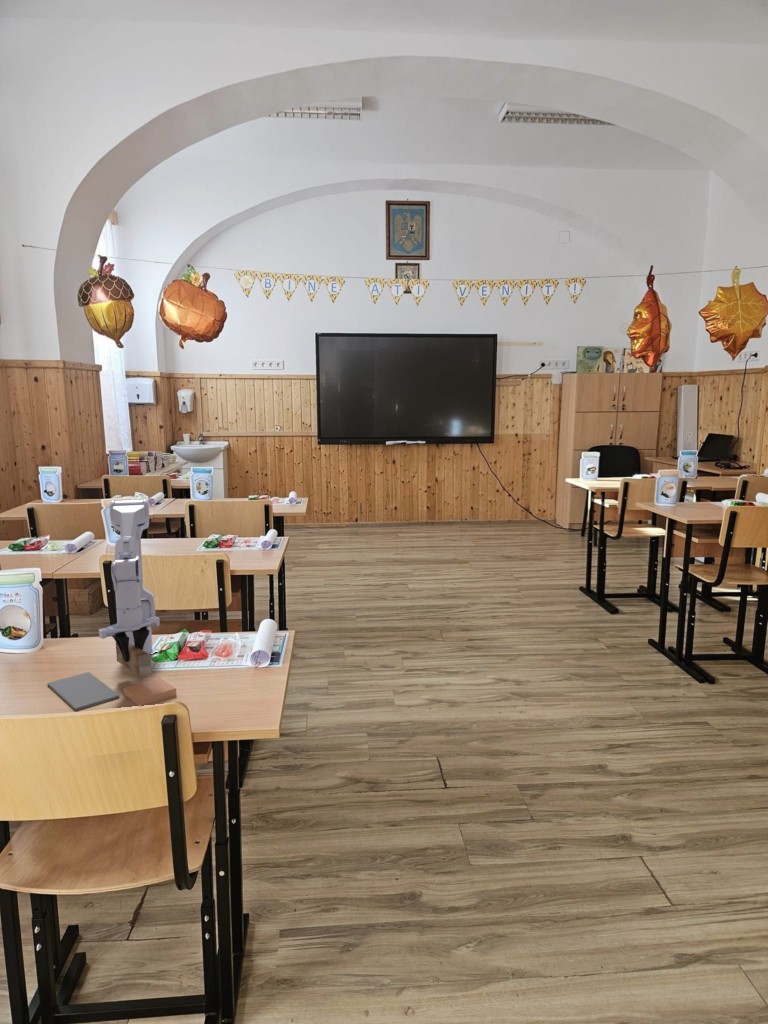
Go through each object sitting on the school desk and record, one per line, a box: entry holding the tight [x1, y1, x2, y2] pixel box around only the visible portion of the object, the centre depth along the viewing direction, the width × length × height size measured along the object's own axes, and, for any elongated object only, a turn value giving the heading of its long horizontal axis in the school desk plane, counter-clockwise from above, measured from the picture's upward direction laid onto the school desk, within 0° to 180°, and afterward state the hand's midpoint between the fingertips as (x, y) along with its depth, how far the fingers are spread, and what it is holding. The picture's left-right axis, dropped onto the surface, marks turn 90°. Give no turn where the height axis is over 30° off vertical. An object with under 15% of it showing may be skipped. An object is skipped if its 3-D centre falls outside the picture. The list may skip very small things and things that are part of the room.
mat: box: [47, 671, 120, 711], centre depth 158 cm, size 20×10×1 cm, turn 44°
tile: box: [123, 677, 177, 706], centre depth 156 cm, size 2×9×9 cm
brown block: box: [115, 642, 152, 678], centre depth 161 cm, size 15×3×5 cm, turn 44°
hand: (132, 659), depth 162 cm, fingers closed on brown block, 2 cm apart
